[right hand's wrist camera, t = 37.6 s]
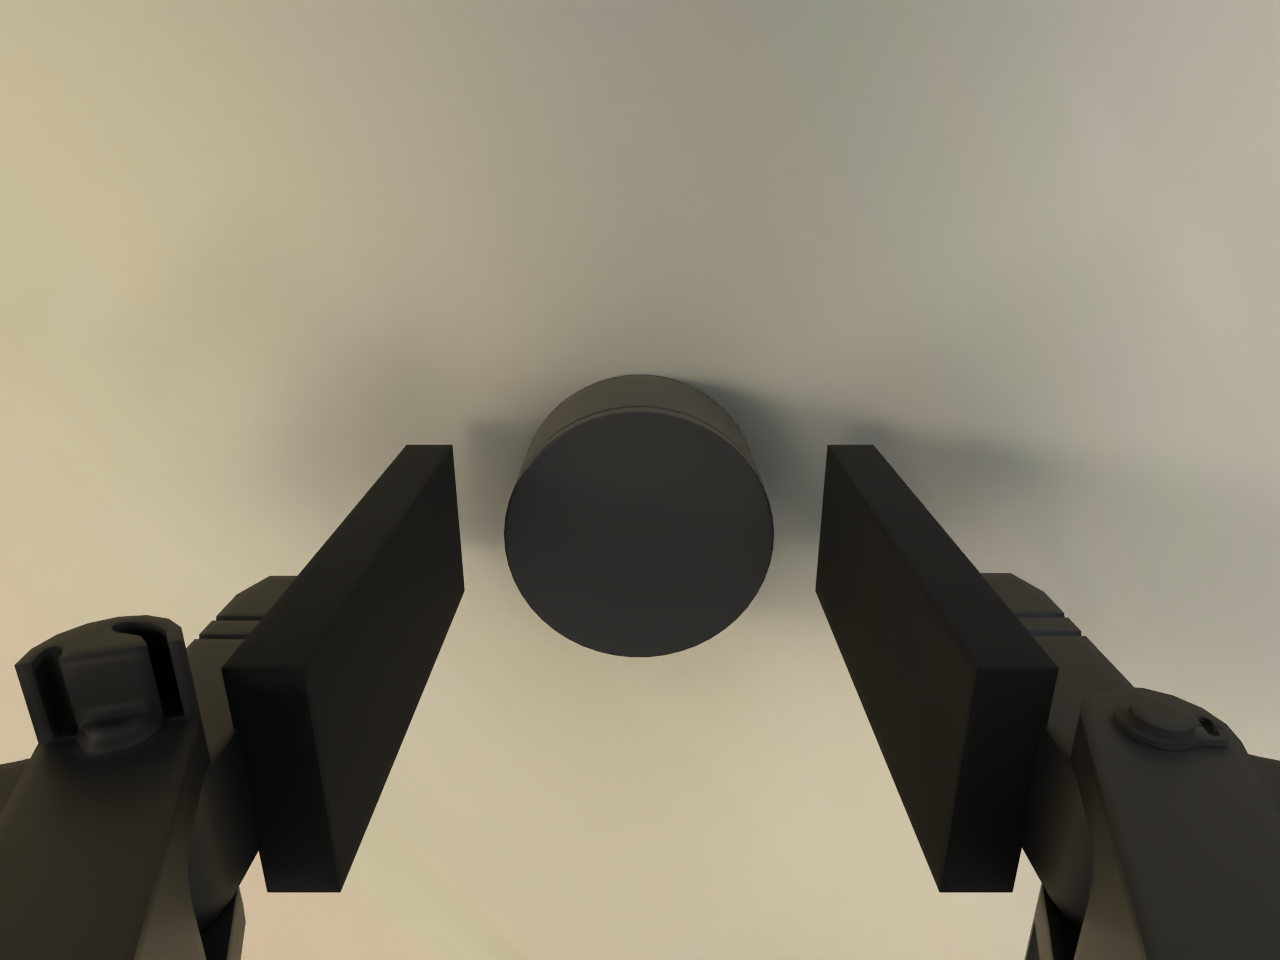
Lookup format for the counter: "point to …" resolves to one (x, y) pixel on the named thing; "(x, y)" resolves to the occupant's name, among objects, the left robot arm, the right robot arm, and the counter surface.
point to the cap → (639, 519)
